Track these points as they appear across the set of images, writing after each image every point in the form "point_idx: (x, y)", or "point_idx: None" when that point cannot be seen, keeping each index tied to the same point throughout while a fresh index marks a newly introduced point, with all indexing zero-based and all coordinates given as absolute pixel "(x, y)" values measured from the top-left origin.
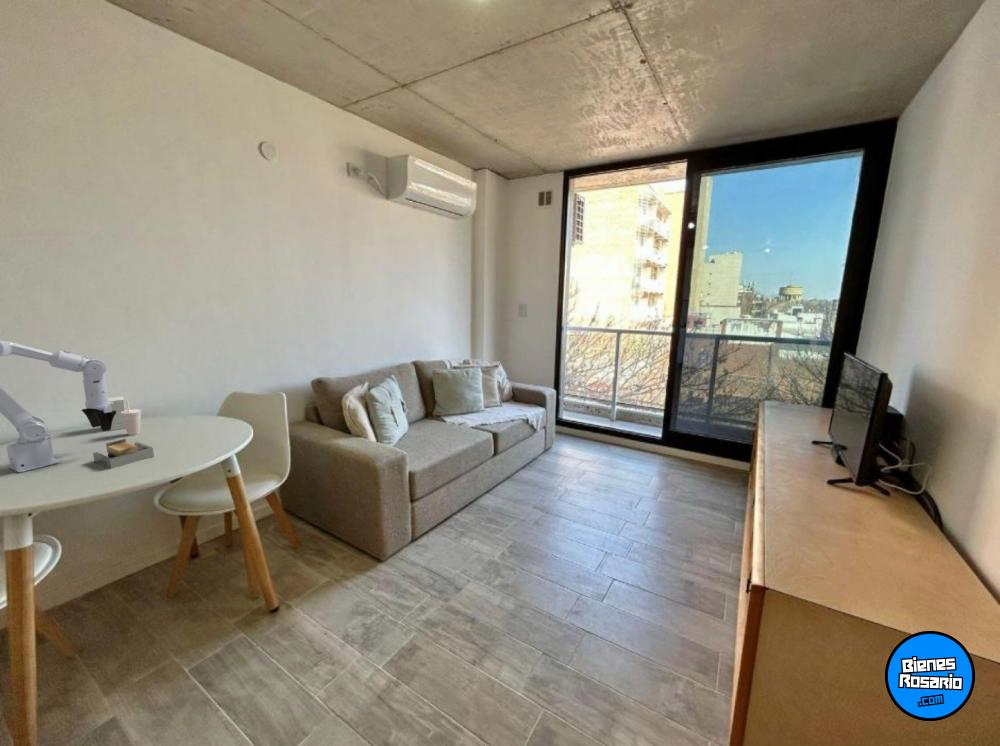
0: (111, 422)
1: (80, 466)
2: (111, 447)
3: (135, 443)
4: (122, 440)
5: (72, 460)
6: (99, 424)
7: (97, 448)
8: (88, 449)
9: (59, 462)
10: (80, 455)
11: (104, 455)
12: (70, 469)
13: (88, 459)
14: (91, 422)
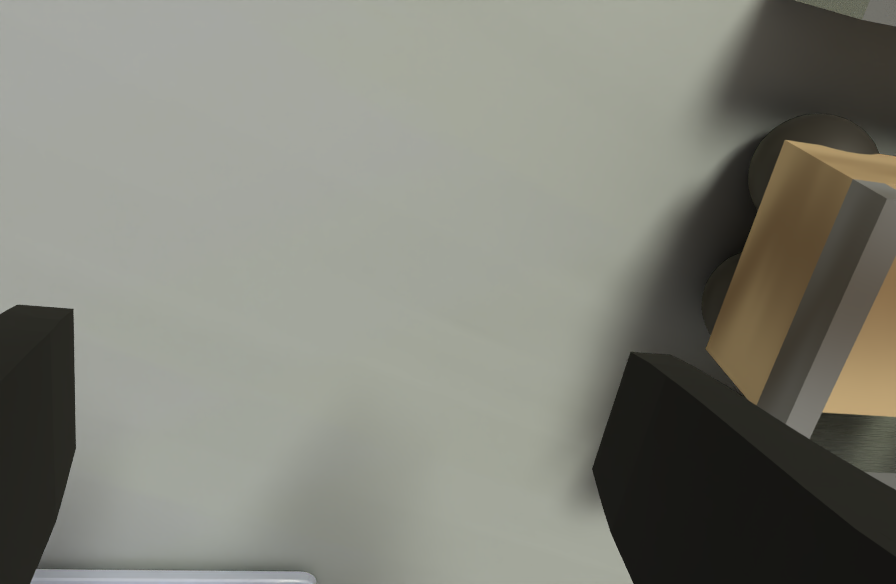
0: (824, 464)
1: None
2: (878, 406)
3: (892, 25)
4: (892, 246)
5: (343, 490)
6: (55, 352)
7: (79, 147)
8: (11, 228)
9: (313, 577)
10: (226, 387)
11: (878, 473)
12: (603, 580)
13: (479, 408)
14: (17, 581)
